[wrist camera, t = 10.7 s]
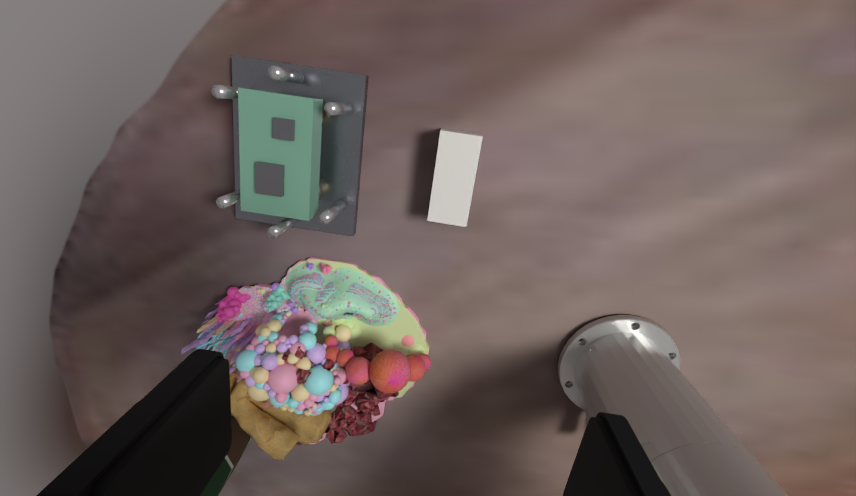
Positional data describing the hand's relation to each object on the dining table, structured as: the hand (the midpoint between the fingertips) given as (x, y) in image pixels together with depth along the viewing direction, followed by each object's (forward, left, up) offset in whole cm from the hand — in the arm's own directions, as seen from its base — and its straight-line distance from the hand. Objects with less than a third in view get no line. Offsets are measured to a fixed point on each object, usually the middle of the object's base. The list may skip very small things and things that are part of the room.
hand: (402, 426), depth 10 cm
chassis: (+2, +14, -30) cm, 33 cm away
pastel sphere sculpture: (-20, +12, -31) cm, 39 cm away
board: (+2, +14, -27) cm, 30 cm away
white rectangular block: (+2, -1, -30) cm, 30 cm away
